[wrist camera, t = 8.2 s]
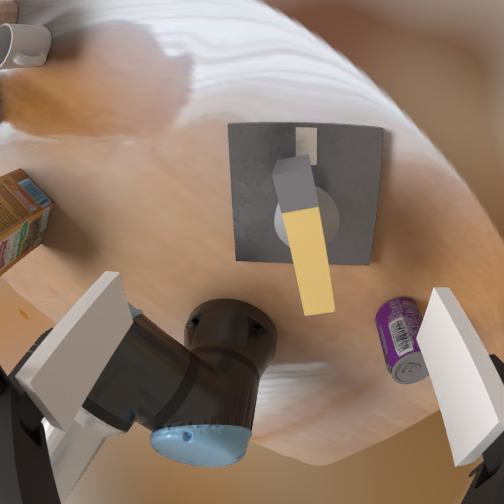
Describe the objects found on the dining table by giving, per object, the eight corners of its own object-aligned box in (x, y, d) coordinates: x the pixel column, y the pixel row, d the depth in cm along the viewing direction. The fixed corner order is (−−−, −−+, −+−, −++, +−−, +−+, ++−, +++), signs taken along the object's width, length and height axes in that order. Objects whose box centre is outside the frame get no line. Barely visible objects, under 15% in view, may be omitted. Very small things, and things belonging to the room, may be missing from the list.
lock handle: (288, 273, 35) (285, 318, 28) (261, 160, 30) (249, 180, 23) (345, 264, 34) (354, 308, 27) (325, 147, 28) (334, 163, 21)
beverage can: (368, 327, 46) (380, 385, 36) (383, 291, 43) (401, 348, 33) (406, 331, 46) (424, 386, 35) (423, 297, 43) (447, 351, 32)
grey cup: (39, 19, 29) (1, 16, 21) (68, 44, 31) (27, 42, 24) (19, 55, 32) (-19, 58, 24) (45, 82, 34) (5, 87, 27)
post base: (367, 259, 41) (377, 288, 35) (237, 255, 44) (227, 283, 37) (379, 126, 33) (397, 133, 27) (230, 123, 35) (215, 128, 29)
